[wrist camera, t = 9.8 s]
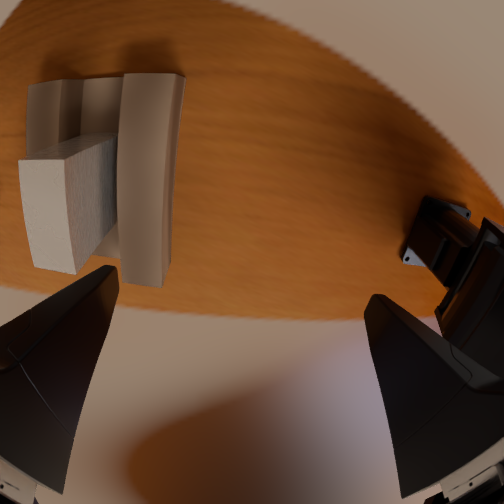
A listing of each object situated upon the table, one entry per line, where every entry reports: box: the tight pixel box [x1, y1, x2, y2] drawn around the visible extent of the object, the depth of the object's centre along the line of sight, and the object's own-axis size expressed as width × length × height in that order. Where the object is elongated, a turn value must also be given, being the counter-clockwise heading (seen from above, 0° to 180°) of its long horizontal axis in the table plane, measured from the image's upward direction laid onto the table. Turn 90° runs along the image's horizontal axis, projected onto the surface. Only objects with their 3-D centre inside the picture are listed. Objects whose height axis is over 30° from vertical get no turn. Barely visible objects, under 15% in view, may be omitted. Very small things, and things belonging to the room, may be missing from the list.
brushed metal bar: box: [18, 133, 118, 275], centre depth 15 cm, size 3×6×8 cm, turn 170°
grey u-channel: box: [26, 73, 186, 288], centre depth 17 cm, size 10×14×4 cm
